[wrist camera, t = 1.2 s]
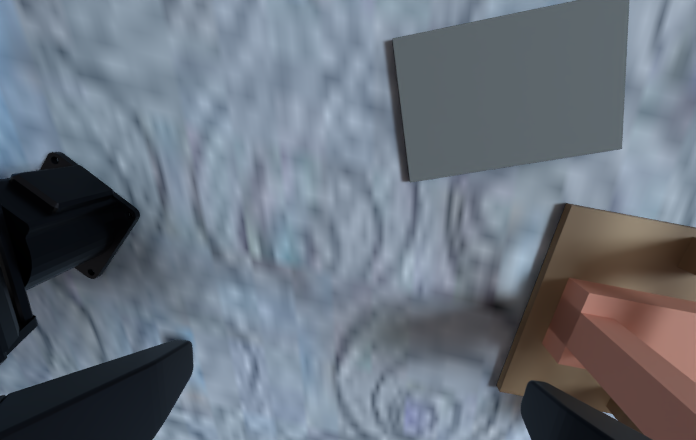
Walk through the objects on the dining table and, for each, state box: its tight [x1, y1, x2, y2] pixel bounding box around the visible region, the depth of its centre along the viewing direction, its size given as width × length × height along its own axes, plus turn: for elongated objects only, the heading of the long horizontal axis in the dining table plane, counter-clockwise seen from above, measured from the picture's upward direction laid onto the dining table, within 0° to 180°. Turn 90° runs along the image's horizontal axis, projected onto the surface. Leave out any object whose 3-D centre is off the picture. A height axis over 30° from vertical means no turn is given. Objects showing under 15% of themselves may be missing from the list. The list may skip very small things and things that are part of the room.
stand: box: [497, 203, 696, 435], centre depth 18 cm, size 13×14×8 cm
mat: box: [392, 0, 629, 182], centre depth 18 cm, size 12×8×1 cm, turn 100°
